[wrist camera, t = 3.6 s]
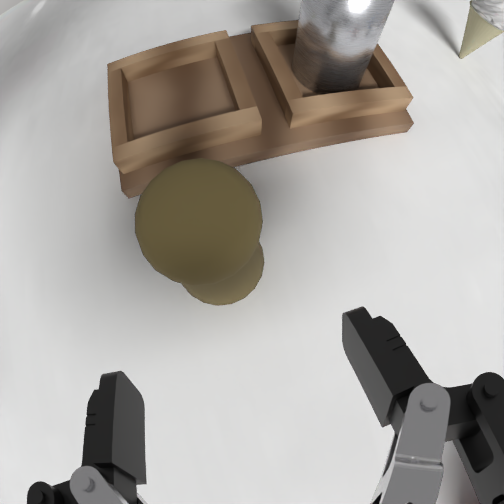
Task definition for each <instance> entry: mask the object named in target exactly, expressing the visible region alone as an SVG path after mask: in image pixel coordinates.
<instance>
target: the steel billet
mask: <svg viewBox="0 0 504 504" xmlns="http://www.w3.org/2000/svg"><path fill="white" fill-rule="evenodd" d="M393 3H394V0H302V1H301V8H300V15H299V22H298V29H297V36H296V42H295V49H294V56H293V63H292V70H293V73H294V76H295V77H296V79H297V80H298V81H299V82H300V83H301V84H302V85H303V86H304V87H306V88H307V89H309V90H311V91H313V92H315V93H318V94H321V95H324V94H331V93H339V92H347V91H355V90H357V88H358V87H359V85H360V83H361V80H362V78H363V76H364V73H365V71H366V69H367V66H368V64H369V62H370V59H371V57H372V54H373V52H374V50H375V47H376V45H377V42H378V40H379V37H380V35H381V33H382V30H383V28H384V25H385V23H386V20H387V18H388V15H389V13H390V10H391V8H392V5H393Z"/></svg>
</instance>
